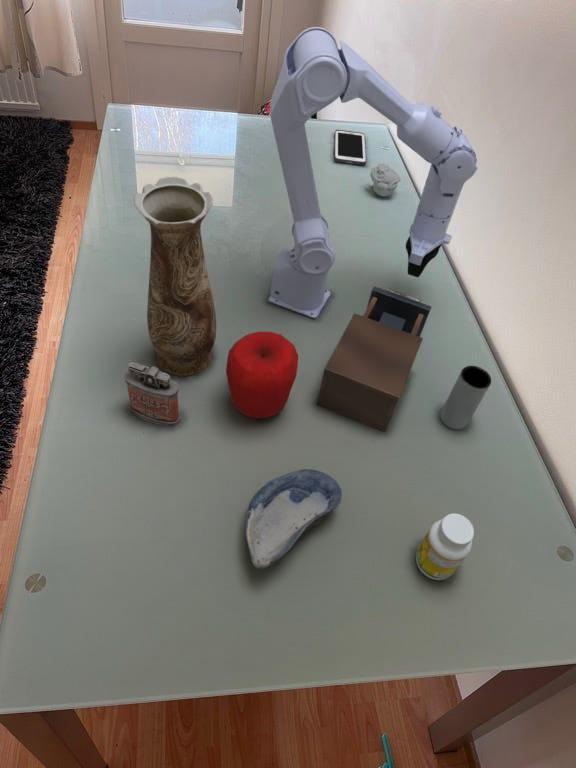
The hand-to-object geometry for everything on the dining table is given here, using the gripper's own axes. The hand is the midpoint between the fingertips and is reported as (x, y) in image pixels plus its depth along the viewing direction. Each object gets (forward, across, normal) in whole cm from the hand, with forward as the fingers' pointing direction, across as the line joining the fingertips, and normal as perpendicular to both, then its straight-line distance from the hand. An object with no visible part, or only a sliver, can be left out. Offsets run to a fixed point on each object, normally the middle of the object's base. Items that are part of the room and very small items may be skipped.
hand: (413, 273), depth 106 cm
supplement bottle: (+7, -48, -18) cm, 52 cm away
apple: (+7, -35, +14) cm, 38 cm away
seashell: (+7, -52, +1) cm, 53 cm away
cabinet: (+7, -24, 0) cm, 25 cm away
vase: (+7, -32, +29) cm, 44 cm away
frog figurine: (+7, +33, +15) cm, 37 cm away
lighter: (+7, -44, +27) cm, 52 cm away
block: (+5, -14, 0) cm, 14 cm away
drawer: (+6, -12, 0) cm, 14 cm away
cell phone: (+7, +48, +28) cm, 56 cm away
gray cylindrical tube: (+7, -23, -15) cm, 28 cm away
